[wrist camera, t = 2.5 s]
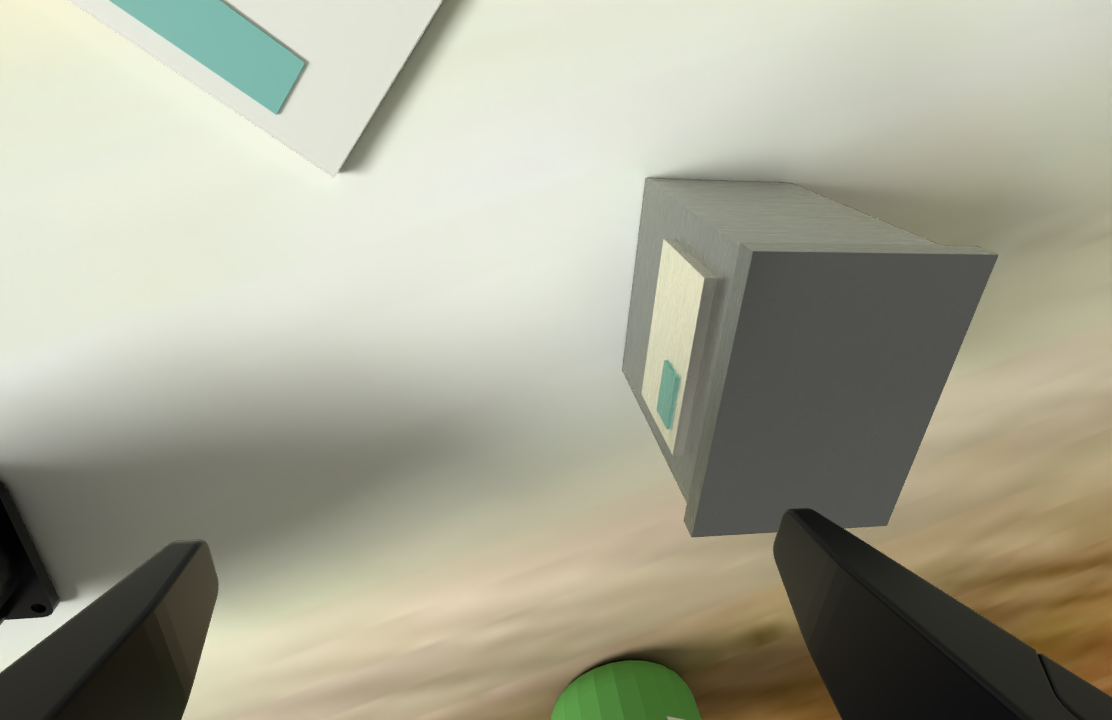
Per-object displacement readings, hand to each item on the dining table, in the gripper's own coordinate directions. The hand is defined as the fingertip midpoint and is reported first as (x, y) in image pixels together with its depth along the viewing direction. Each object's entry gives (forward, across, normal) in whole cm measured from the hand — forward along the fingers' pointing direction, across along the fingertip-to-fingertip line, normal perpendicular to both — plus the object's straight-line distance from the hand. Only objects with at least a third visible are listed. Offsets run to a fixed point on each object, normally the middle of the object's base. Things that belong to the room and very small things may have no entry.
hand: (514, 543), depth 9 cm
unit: (+12, -8, 0) cm, 14 cm away
